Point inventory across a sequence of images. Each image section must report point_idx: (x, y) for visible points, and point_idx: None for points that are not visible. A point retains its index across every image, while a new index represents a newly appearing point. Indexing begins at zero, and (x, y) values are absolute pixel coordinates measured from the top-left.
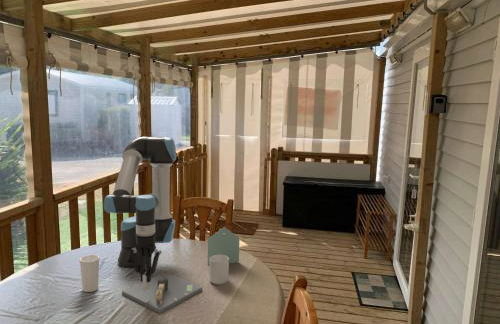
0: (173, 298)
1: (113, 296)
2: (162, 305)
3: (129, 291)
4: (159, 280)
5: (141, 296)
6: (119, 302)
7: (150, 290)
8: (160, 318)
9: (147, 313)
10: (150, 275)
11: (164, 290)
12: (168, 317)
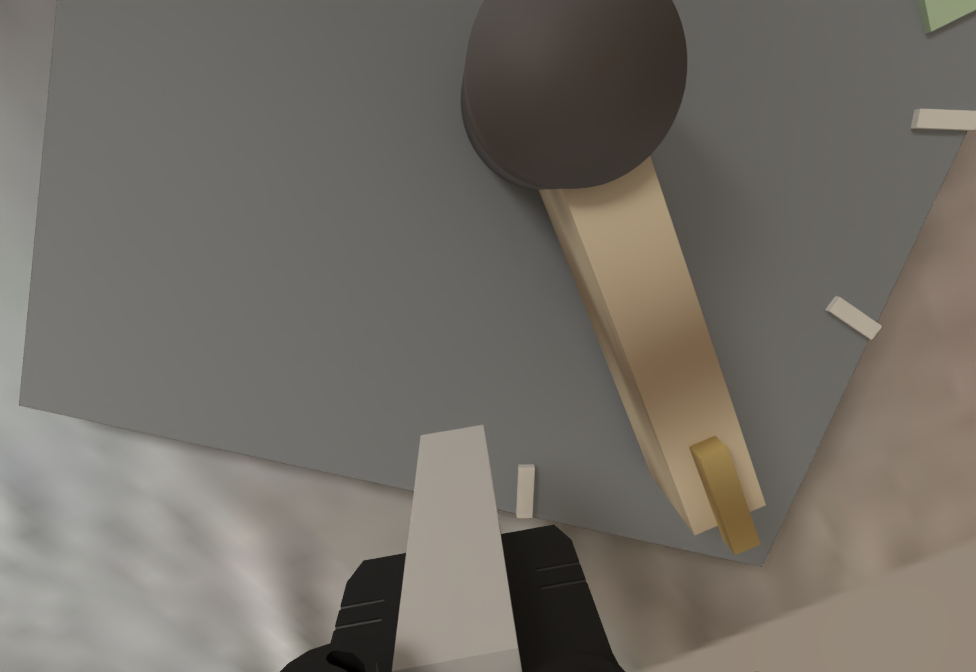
0: (812, 297)
1: (7, 473)
2: None
3: (131, 377)
4: (516, 110)
5: (386, 421)
6: (194, 546)
7: (394, 229)
8: (781, 602)
9: (620, 587)
10: (609, 661)
11: None
12: (847, 561)
